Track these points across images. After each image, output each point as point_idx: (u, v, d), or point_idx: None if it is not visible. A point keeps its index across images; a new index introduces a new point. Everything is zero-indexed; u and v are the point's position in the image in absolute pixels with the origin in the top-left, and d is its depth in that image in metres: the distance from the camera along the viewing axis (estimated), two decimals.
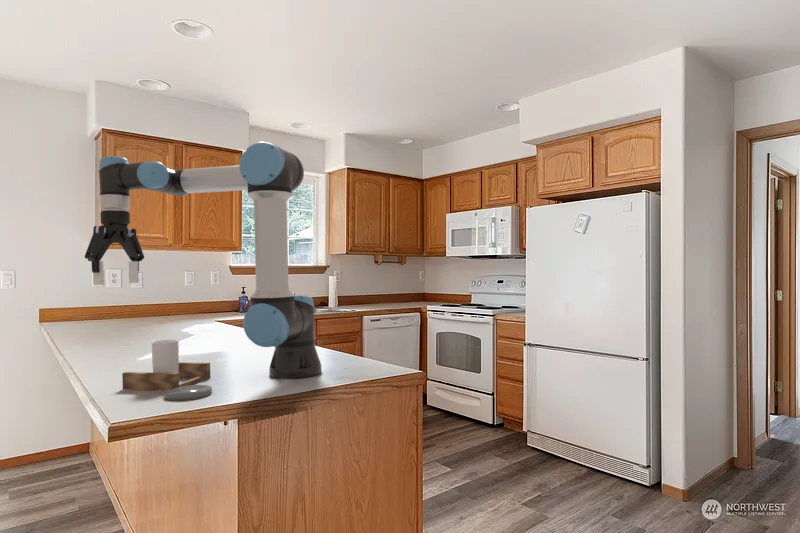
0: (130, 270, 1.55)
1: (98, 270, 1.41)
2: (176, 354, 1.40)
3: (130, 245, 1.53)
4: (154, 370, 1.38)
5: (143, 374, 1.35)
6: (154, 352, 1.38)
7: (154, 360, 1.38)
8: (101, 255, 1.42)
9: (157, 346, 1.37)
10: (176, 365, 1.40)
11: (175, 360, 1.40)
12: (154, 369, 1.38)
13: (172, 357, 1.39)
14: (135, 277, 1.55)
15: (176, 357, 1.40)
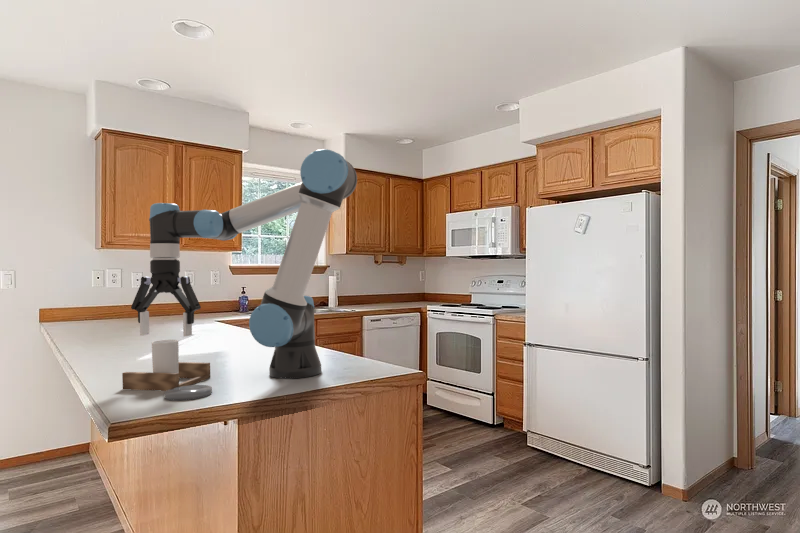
0: None
1: None
2: (176, 354, 1.40)
3: (176, 295, 1.40)
4: (154, 370, 1.38)
5: (143, 374, 1.35)
6: (154, 352, 1.38)
7: (154, 360, 1.38)
8: (141, 306, 1.43)
9: (157, 346, 1.37)
10: (176, 365, 1.40)
11: (175, 360, 1.40)
12: (154, 369, 1.38)
13: (172, 357, 1.39)
14: None
15: (176, 357, 1.40)
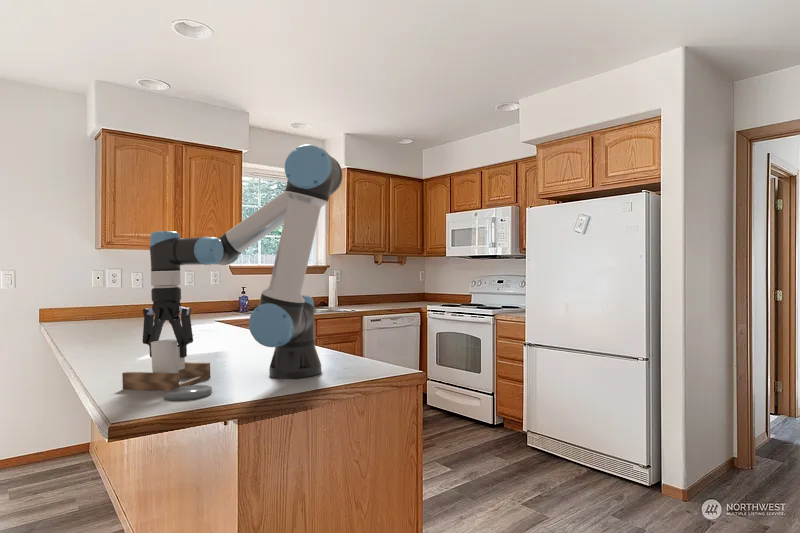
0: None
1: None
2: (175, 354, 1.40)
3: (173, 326, 1.40)
4: (154, 370, 1.38)
5: (143, 374, 1.35)
6: (153, 352, 1.38)
7: (153, 360, 1.38)
8: (151, 339, 1.42)
9: (156, 346, 1.37)
10: None
11: (175, 359, 1.40)
12: (154, 369, 1.38)
13: (171, 357, 1.39)
14: None
15: (175, 357, 1.40)
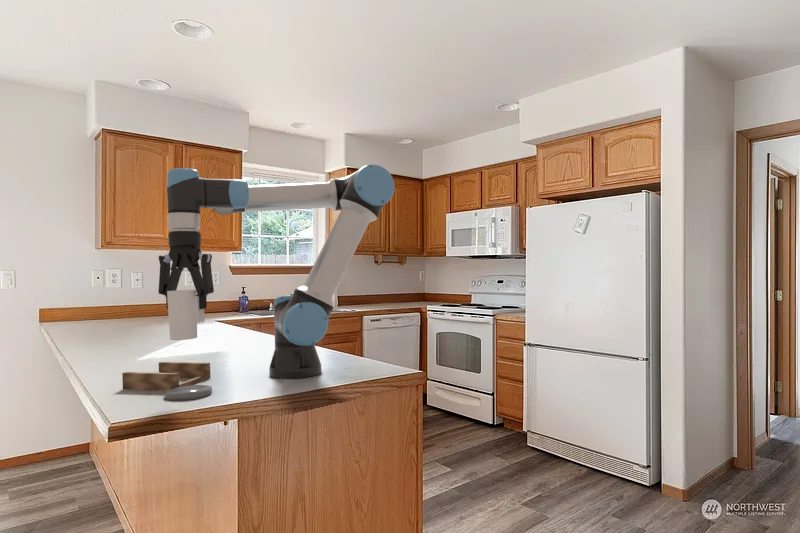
0: None
1: None
2: (194, 304, 1.26)
3: (192, 273, 1.27)
4: (170, 321, 1.24)
5: (143, 374, 1.35)
6: (170, 301, 1.24)
7: (170, 310, 1.24)
8: (168, 289, 1.28)
9: (173, 294, 1.24)
10: (194, 316, 1.26)
11: (194, 310, 1.26)
12: (170, 320, 1.24)
13: (190, 307, 1.25)
14: None
15: (194, 307, 1.26)
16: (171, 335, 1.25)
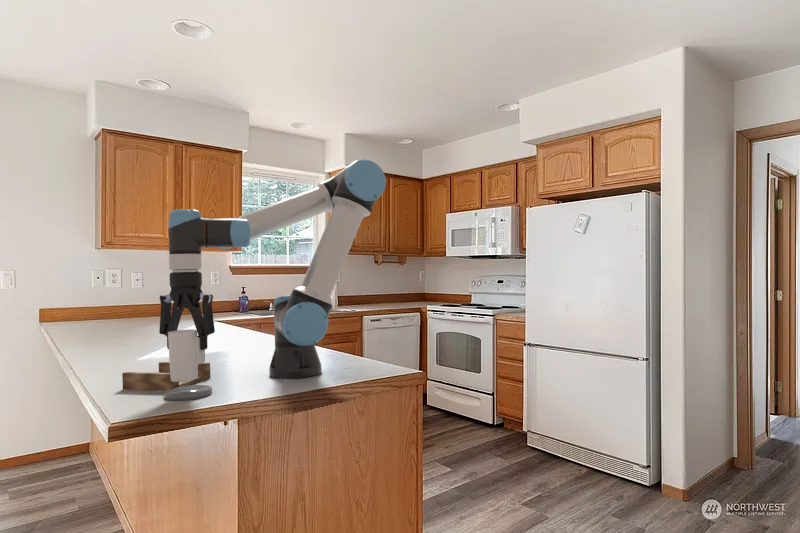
0: None
1: None
2: (195, 345, 1.26)
3: (193, 314, 1.27)
4: (171, 363, 1.24)
5: (143, 374, 1.35)
6: (171, 343, 1.24)
7: (171, 352, 1.24)
8: (169, 329, 1.28)
9: (174, 336, 1.24)
10: (195, 357, 1.26)
11: (194, 351, 1.26)
12: (171, 362, 1.24)
13: (191, 348, 1.25)
14: None
15: (195, 348, 1.26)
16: (172, 376, 1.24)
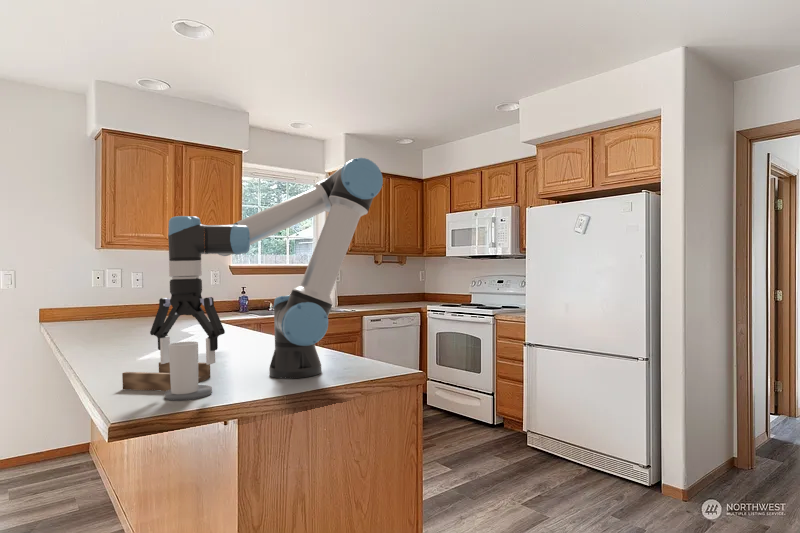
0: None
1: None
2: (196, 358, 1.27)
3: (198, 318, 1.26)
4: (172, 375, 1.24)
5: (143, 374, 1.35)
6: (172, 355, 1.24)
7: (172, 364, 1.24)
8: (161, 331, 1.29)
9: (175, 349, 1.24)
10: (196, 370, 1.27)
11: (195, 364, 1.26)
12: (172, 374, 1.24)
13: (191, 361, 1.25)
14: None
15: (196, 361, 1.27)
16: (172, 389, 1.25)
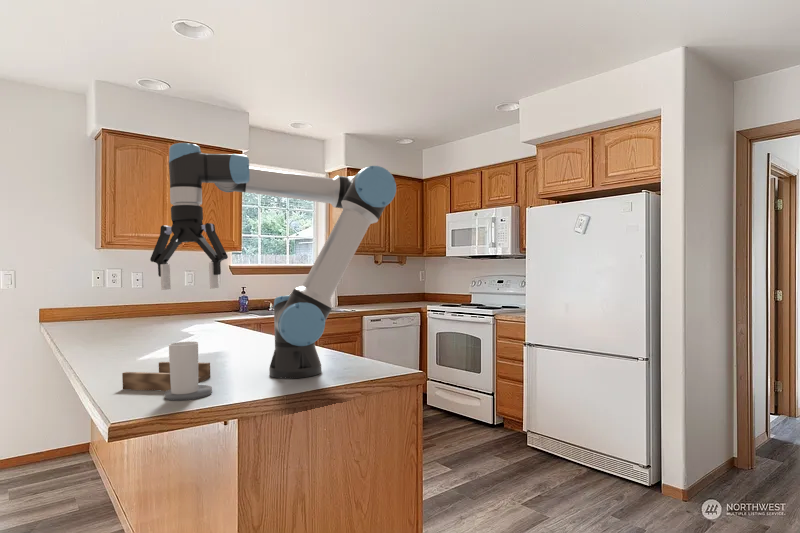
0: None
1: (161, 274, 1.31)
2: (196, 358, 1.26)
3: (201, 243, 1.28)
4: (172, 375, 1.24)
5: (143, 374, 1.35)
6: (172, 355, 1.24)
7: (172, 364, 1.24)
8: (161, 258, 1.30)
9: (175, 349, 1.24)
10: (196, 370, 1.26)
11: (195, 364, 1.26)
12: (172, 374, 1.24)
13: (191, 361, 1.25)
14: None
15: (196, 361, 1.26)
16: (172, 389, 1.25)
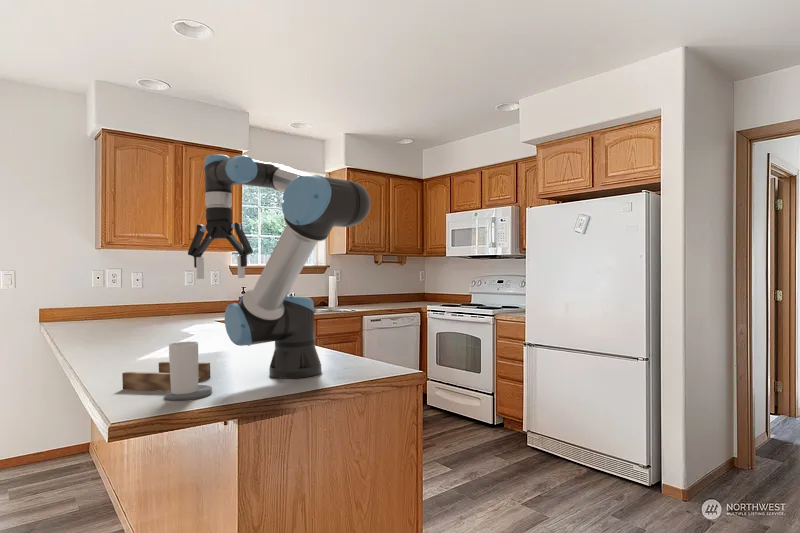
0: None
1: None
2: (196, 358, 1.26)
3: (230, 240, 1.51)
4: (172, 375, 1.24)
5: (143, 374, 1.35)
6: (172, 355, 1.24)
7: (172, 364, 1.24)
8: (197, 252, 1.53)
9: (175, 349, 1.24)
10: (196, 370, 1.26)
11: (195, 364, 1.26)
12: (172, 374, 1.24)
13: (191, 361, 1.25)
14: None
15: (196, 361, 1.26)
16: (172, 389, 1.25)
